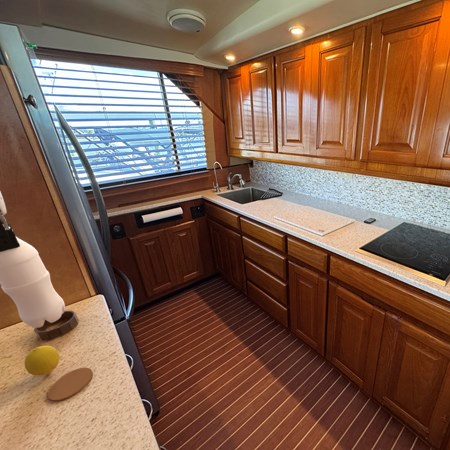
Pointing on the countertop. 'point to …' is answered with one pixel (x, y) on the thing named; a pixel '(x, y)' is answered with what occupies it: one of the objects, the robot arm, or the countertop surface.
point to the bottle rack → (59, 330)
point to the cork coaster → (70, 384)
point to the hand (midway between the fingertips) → (7, 245)
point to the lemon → (41, 360)
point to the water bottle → (29, 285)
